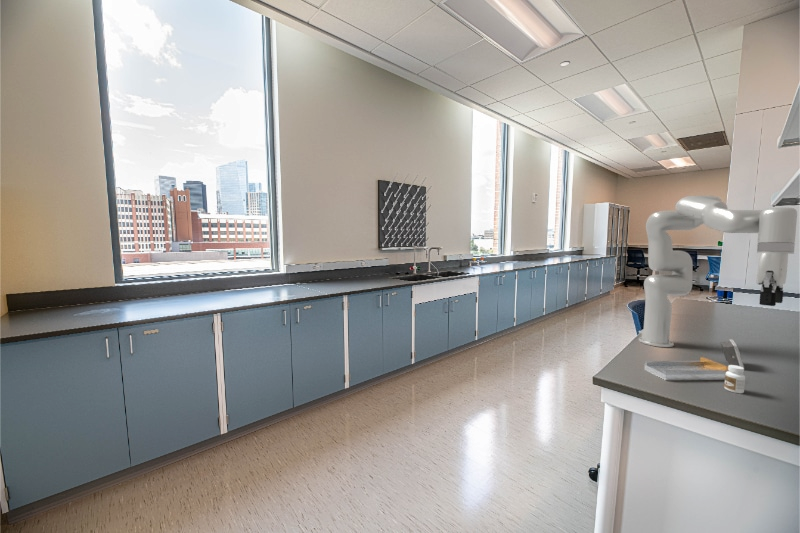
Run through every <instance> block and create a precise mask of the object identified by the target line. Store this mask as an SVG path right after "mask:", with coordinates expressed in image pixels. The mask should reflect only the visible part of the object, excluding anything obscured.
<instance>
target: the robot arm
mask: <svg viewBox="0 0 800 533" xmlns="http://www.w3.org/2000/svg"><path fill="white" fill-rule="evenodd" d="M797 220H798V210H797V209H796V208H794V207H771V208H766V209H761V210H760V209H759V210H758V209H729V208H728V204H726V203H725V202H724V201H723V200H722V199H721V198H720V197H718V196H714V195H687V196H685V197H682V198H680V199H679V200H678V201H677V202H676V204H675V210H660V211H656V212H653V213H652V214H650V215H649V216H648V217H647V220H646V223H645V231H646V232H645V233H646V235H647V240H648V241H647V242H648V249H647V254H648V255H647V256H648V257H647V260H648V267H649V269H650V270H652V271H654V272H664V273H665V272H669V273H670V272H671V274H658V273H657V274H652V275H648V276H647V277H646V278H645V279H644V281H643V289H644V295H645V296H644V297H645V300H644V302H645V305H644V316H643V317H644V320H643V329H641V330H638V333H639V334H640V335H641V336H640V337H638V341H639V342H640V343H641V344H645V345H648V346H653V347H658V348H659V347H660V348H672V347H674V345H675V344H674V342H673V341H671V340H670V336H671V326H672V312H673V307H672V306H673V305H672V303H671V301H670V299H669V298H668V297H680V296H681V297H683V296H687V295H689V294H690V293H691V291H692V290H693V258H692V257H691V255H690V254H689V253H688V252H687V251H684V250H673V239H672V237H671V235H670V234H669V233H668V231H691V230H694V229H697V228H698V227H700V226H702V225H704V226H705V227H707V228H709V229H712V230H715V231H718V232H722V233H727V234H758V235H757V244H756V245H757V246H756V254H760V256H759V260H758V266H757V274H756V282H755V283H756V285H761V288H760V292H759V305H760V306H768V307H769V306H770V307H775V306H776V304H782V303H783V301H784V299H783V298H784V285H785V284H786V280H787V276H788V275H787V273H788V266H789V265H788V263H789V261H788V260H789V255H790V254H792V255H793V254H795V246H796V235H797V234H796V233H797V232H796V231H797Z"/></svg>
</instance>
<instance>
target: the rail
mask: <svg viewBox="0 0 800 533" xmlns="http://www.w3.org/2000/svg"><path fill="white" fill-rule="evenodd" d="M728 366H729V365H728ZM728 366H727V365H725V364H722V363H720V362H717V361H714V360H712V359H710V358H707V357H703V356H700V360H649V361H648V360H645V361H644V371H646V372H648V373H649V374H652V375H653V376H656V377H657V376H658V378H659V377H660V379H661V378H662V379H661V380H663V379H664V380H663V381H718V380H719V381H722V380H723V381H725V374H726V372H727V371H729V370H728Z"/></svg>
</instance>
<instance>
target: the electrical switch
mask: <svg viewBox="0 0 800 533" xmlns="http://www.w3.org/2000/svg"><path fill="white" fill-rule="evenodd" d="M720 345H721V348H722V351H723V355H724V359H725V361H726V364H727V365H728V366H729V365H736V366H740V367H743V368H744V369H745V365H744V363H743V360H742V356H741V353H740V352H741V351H740V349H739V347H738V345H737V343H736V342H735V341H734V339H732V338H729V341H720Z"/></svg>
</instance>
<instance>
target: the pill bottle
mask: <svg viewBox="0 0 800 533" xmlns="http://www.w3.org/2000/svg"><path fill="white" fill-rule="evenodd" d="M728 370H729V371H727V372H726V374H725V380H724V384H723V385H724V387H723V388H724V389H725V390H727V391H729V392H731V393H735V394H744V393H745V385H746V375H744V372H745V367H744V368H743V367H740V366H736V365H728Z"/></svg>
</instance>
